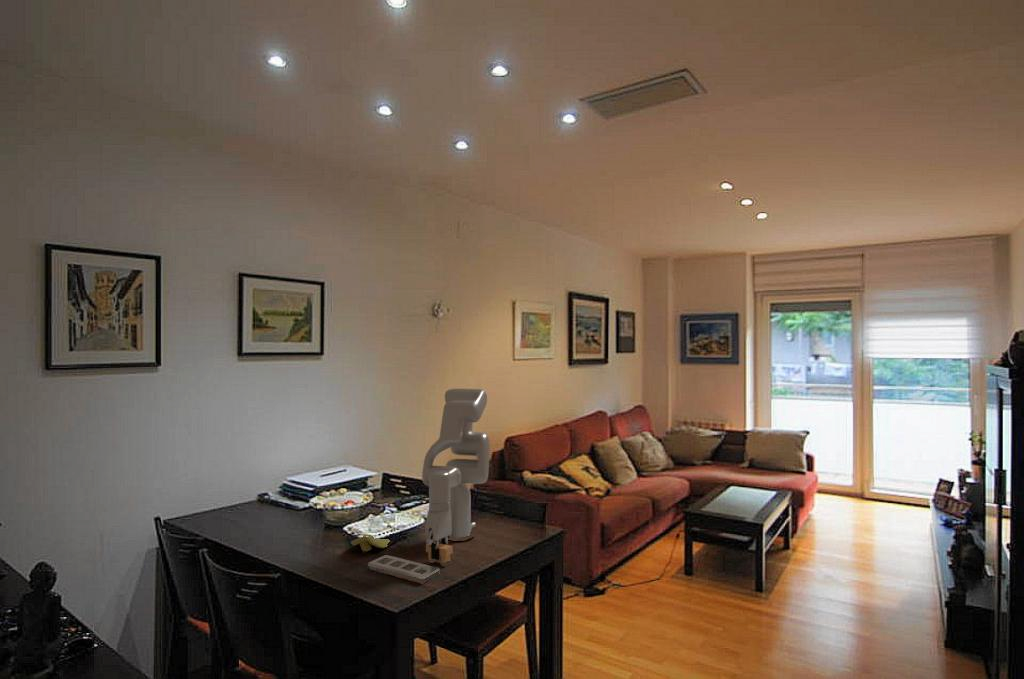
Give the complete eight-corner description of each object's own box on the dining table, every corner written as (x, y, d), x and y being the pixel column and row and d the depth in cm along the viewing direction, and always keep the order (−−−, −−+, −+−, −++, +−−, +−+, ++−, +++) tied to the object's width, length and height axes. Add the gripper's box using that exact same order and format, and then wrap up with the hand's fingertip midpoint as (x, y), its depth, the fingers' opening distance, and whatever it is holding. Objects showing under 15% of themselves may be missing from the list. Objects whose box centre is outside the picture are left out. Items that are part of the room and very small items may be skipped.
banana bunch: (372, 531, 243) (392, 522, 241) (378, 549, 242) (399, 540, 239) (345, 544, 224) (367, 534, 222) (352, 563, 223) (374, 554, 220)
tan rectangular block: (432, 559, 219) (432, 541, 219) (452, 564, 215) (452, 546, 215) (425, 563, 216) (425, 544, 216) (446, 568, 211) (446, 549, 211)
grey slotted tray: (385, 561, 217) (385, 554, 217) (439, 575, 205) (439, 568, 205) (368, 569, 209) (368, 562, 209) (422, 584, 197) (422, 577, 197)
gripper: (445, 499, 224) (444, 548, 225) (416, 510, 210) (416, 562, 210) (461, 502, 221) (461, 552, 221) (433, 513, 206) (433, 566, 206)
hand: (439, 556), depth 215 cm, fingers closed on tan rectangular block, 3 cm apart
